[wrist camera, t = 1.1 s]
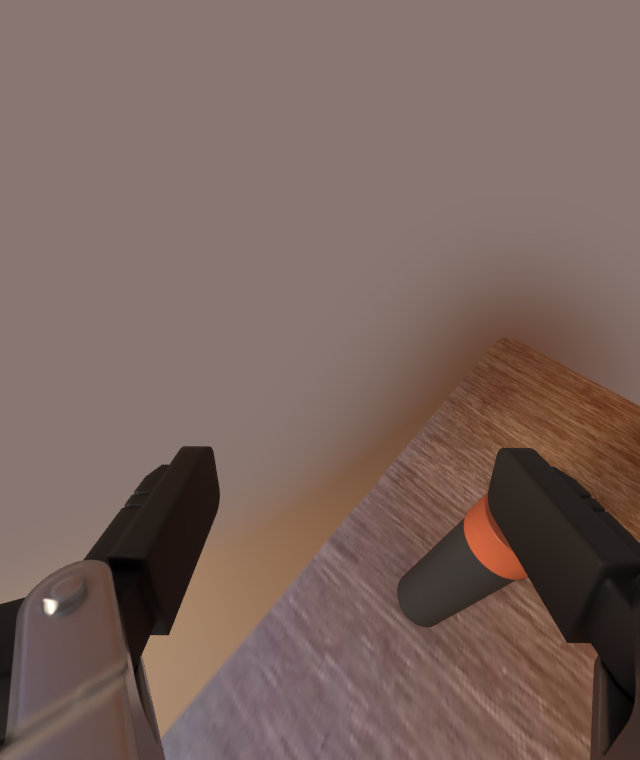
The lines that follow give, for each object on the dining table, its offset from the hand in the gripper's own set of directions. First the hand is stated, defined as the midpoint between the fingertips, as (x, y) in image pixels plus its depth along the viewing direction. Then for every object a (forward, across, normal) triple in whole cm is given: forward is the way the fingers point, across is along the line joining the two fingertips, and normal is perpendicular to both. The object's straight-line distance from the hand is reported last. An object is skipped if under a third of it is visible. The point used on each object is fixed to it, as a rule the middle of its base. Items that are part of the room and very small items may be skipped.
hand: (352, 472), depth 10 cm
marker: (+7, -6, +16) cm, 19 cm away
